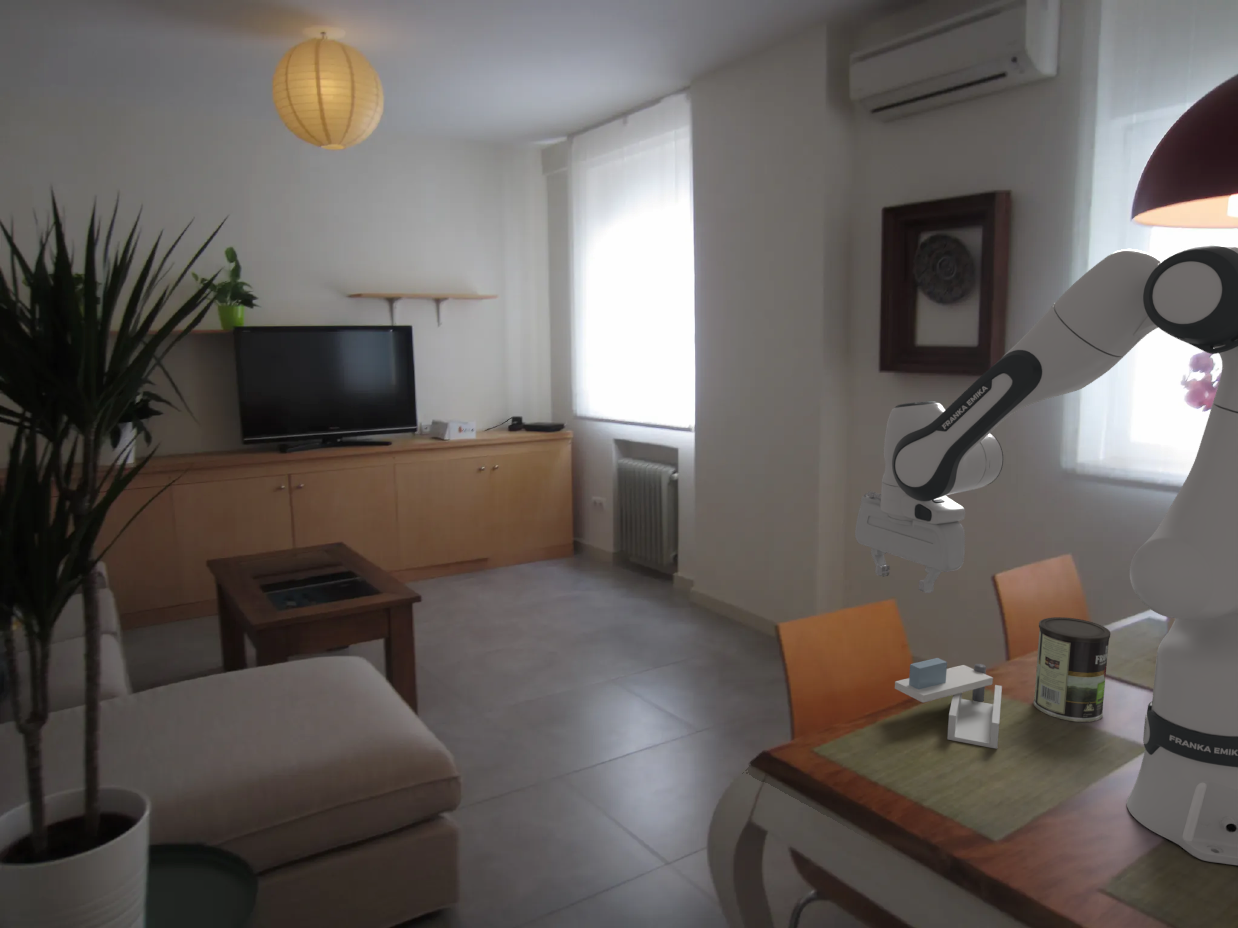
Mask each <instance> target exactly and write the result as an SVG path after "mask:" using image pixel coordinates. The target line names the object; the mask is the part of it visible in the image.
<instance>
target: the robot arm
mask: <svg viewBox="0 0 1238 928" xmlns="http://www.w3.org/2000/svg"><path fill="white" fill-rule="evenodd" d="M1156 329H1160V330H1161V331H1163V332H1164V333H1165V334H1167V335H1170V336H1171V337H1173V338H1175V339H1177V340H1179V341H1182V342H1184V343H1187V344H1188V345H1191V346H1193V347H1194V348H1197V349H1199V350H1200V351H1203V352H1205V353H1207V354H1211V355H1215V354H1216V355H1217V354H1218V355H1219V356H1220V358H1221V359H1220V360H1221V366H1222V367H1221V373H1220V377H1219V383H1218V385H1217V389H1216V391H1215V392H1216V393H1215V395H1214V399H1213V402H1212V405H1211V408H1210V411H1209V414H1208V418H1207V422H1206V425H1205V427H1204V431H1203V435H1202V437H1201V441H1200V443H1199V447H1198V451H1197V453H1196V456H1195V459H1194V461H1193V464H1192V466H1191V469H1190V471H1189V473H1188V475H1187V476H1186V478H1185V481H1184V482H1183V484H1182V485H1181V488H1180V489H1179V491H1178V493H1177V494H1176V496H1175V497H1174V500H1173V501H1172V503H1171V505H1170V507H1169V508H1168V510H1167V511H1166V513H1165V515H1164V517H1163V518H1162V520H1161V522H1160V523H1159V525H1158V526H1157V528H1156V530H1154V532H1153V533H1152V535H1150V537H1149V538H1148V539H1147V540H1146V541H1145V542H1144V543H1143V544H1142V545H1141V546H1139V547H1138V549H1137V550H1136V551H1135V552H1134V555H1133V556H1132V558H1131V561H1130V564H1129V579H1130V584H1131V586H1132V589H1133V591H1134V593H1135V594H1136V596H1137V598H1138V599H1139V600H1140V601H1141V602H1142V604H1143V605H1145V606H1146V607H1147V608H1148V609H1149V610H1151V611H1153V612H1154V613H1156V614H1158V615H1160V616H1163V617H1166V618H1171V619H1174V621H1173V623H1172V625H1171V627H1170V629H1169V631H1168V632H1167V633H1166V635H1165V636H1164V637H1163V638H1162V640H1161V642H1160V643H1159V646H1158V647H1157V652H1156V661H1155V670H1154V681H1153V690H1152V700H1151V701H1150V702H1149V703H1148V705H1147V708H1146V709H1147V711H1146V714H1145V718H1144V726H1143V735H1142V736H1143V737H1142V741H1143V746H1144V751H1143V752H1144V753H1143V756H1142V760H1141V765H1140V769H1139V771H1138V774H1137V777H1136V780H1135V784H1134V785H1133V788H1132V790H1131V792H1130V794H1129V796H1128V797H1127V800H1126V806H1127V810H1128V811H1129V813H1130V814H1131V815H1132V817H1134V819H1135V820H1136V821H1137V822H1138V823H1140V824H1141V825H1142V826H1144V827H1145V828H1147V829H1149V830H1150V831H1151V832H1154V833H1155V834H1157V835H1159V836H1161V837H1162V838H1165V839H1167V840H1169V841H1171V842H1173V843H1174V844H1176V845H1178V846H1180V847H1181V848H1183V850H1185V852H1187V853H1189V854H1190V855H1191V856H1193V857H1195V858H1197V859H1199V860H1201V861H1204V862H1210V863H1218V864H1224V865H1225V864H1226V865H1232V866H1238V244H1230V243H1229V244H1227V243H1226V244H1224V243H1223V244H1212V243H1211V244H1197V245H1192V246H1189V247H1185V248H1183V249H1180V250H1178V251H1176V252H1175V253H1172V254H1171V255H1169V256H1167V257H1166V258H1164V259H1163V260H1161V259H1159V258H1158V257H1157V256H1155V255H1154V254H1151V253H1149V252H1146V251H1142V250H1139V249H1132V248H1127V249H1125V248H1124V249H1121V250H1119V249H1118V250H1116V251H1114V252H1112V253H1110V254H1108V255H1107V256H1106V257H1104V258H1103V259H1102V260H1100V261H1099V262H1098V263H1096V264H1095V265H1094V266H1092V267H1091V268H1090V269H1089V270H1088V271H1087V272H1085V273H1084V274H1083V275H1082V276H1081V277H1079V279H1078V280H1076V281H1075V282H1074V283H1073V284H1072V285H1071V286H1070V287H1069V288H1067V290H1066V291H1065V292H1064V293H1063V294H1062V295H1061V296H1060V297H1059V298H1058V299H1057V300H1056V301H1055V302H1054V303H1053V304H1052V306H1050V307H1049V308H1048V310H1047V311H1046V312H1045V313H1044V314H1043V315H1042V316H1041V317H1040V318H1039V320H1037V321H1036V322H1035V324H1033V326H1032V327H1031V328H1030V329H1029V330H1028V331H1027V332H1026V333H1025V335H1023V336H1022V337H1021V339H1019V340H1018V341H1017V343H1015V344H1014V345H1013V346H1012V347H1011V348H1010V349H1009V350H1008V351H1007V352H1006V353H1005V354H1004V355H1002V356H1001V358H999V360H998V361H997V362H995V364H993V365H992V366H991V367H990V368H988V369H987V370H986V371H985V372H983V374H981V375H980V377H978V378H977V380H976V381H974V382H973V383H972V384H971V385H969V387H968V388H967V389H965V391H964V392H963V393H961V395H959V397H958V398H956V400H954V402H952V403H951V404H950V405H949V406H948V407H947V408H945V407H944V406H943V404H941V403H940V402H938V401H934V400H933V401H932V400H929V401H927V400H926V401H919V402H918V401H917V402H907V403H906V402H905V403H901V404H897V405H896V406H895V407H893V408H892V409H891V410H890V413H889V415H888V418H887V422H886V428H885V435H884V444H883V459H884V465H885V466H884V467H885V468H884V472H883V475H882V478H881V491H880V493H878V492H876V491H871V490H870V491H868V492H866V493H865V494H863V495H862V497H861V498H860V499H861V500H860V507H859V510H858V513H857V518H856V523H855V532H854V538H855V539H856V542H857V543H858V544H859V545H862V546H865V547H868V548H871V549H870V554H871V558H872V560H873V563H874V564H875V570H874V571H875V572H874V573H875V574H876V575H877V576H879V577H882V578H883V577H888V576H890V570H891V567H890V565H889V564H887V561H886V558H885V554H889V555H892V556H896V557H898V558H902V559H904V560H907V561H910V562H913V563H916V564H919V565H923V566H924V567H925V569H924V572H925V573H926V575H925V577H924V579H920V580H918V581H919V582H918V590H919V591H920V592H923V593H925V594H930V593H933V592H934V589H935V582H936V581H937V579H938V578H939V577H940V575H941V574H942V573H947V572H953V571H957V570H959V569H960V568H961V567H962V566H963V564H964V562H965V561H964V560H965V554H966V553H965V551H966V547H965V546H966V533H965V532H966V531H965V528H964V526H963V525H962V523H961V522H960V521H964V519H965V517H966V509H965V508H964V507H963V505H961V504H960V503H957V502H956V501H954V500H953V499H952V498H950V497H949V496H948V495H953V494H957V493H963V492H967V491H973V490H977V489H981V488H984V487H987V486H989V485H990V484H992V483H993V482H995V481H996V480H997V478H998V477H999V476H1000V475H1001V472H1002V470H1003V467H1004V466H1003V465H1004V454H1003V453H1004V452H1003V449H1002V446H1001V444H1000V442H999V440H998V439H997V437H996V436H994V435H993V433H992V432H993V431H994V430H995V429H996V428H997V427H998V426H999V425H1000V424H1002V423H1003V422H1004V421H1005V420H1006V419H1007V418H1009V417H1010V416H1011V415H1014V414H1015V413H1016V412H1018V411H1020V410H1022V409H1024V408H1027V407H1028V406H1031V405H1034V404H1036V403H1039V402H1041V401H1045V400H1048V399H1051V398H1055V397H1059V396H1063V395H1066V394H1070V393H1073V392H1076V391H1079V390H1082V389H1083V388H1086V387H1087V386H1089V385H1090V384H1092V383H1093V382H1095V381H1096V380H1098V379H1099V378H1101V377H1102V376H1103V375H1105V374H1106V373H1107V372H1108V371H1110V370H1111V369H1112V368H1114V366H1116V364H1118V362H1120V361H1121V360H1122V359H1123V358H1124V357H1125V356H1126V355H1127V354H1128V353H1129V352H1130V351H1131V350H1132V349H1133V348H1134V347H1135V346H1136V345H1137V344H1138V343H1139V342H1140V341H1142V340H1143V339H1144V338H1145V337H1146V336H1147V335H1149V334H1150V333H1152V332H1153V331H1155V330H1156Z"/></svg>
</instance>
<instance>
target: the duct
mask: <svg viewBox="0 0 1238 928" xmlns="http://www.w3.org/2000/svg"><path fill="white" fill-rule="evenodd" d="M1002 689H1003V685H997V684H995V685H994V697H993V703H988V702H984V701H983V702H977V701H974V700H972V699H970V700H969V699H964V698H963V697H962V696H963V692H962V693H958V694H954V695H952V698H951V702H950V703H951V704H950V708H949V713H948V723H947V724H948V725H947V740H950V741H953V742H959V743H964V744H970V745H975V746H981V747H986V748H991V749H994V750H995V749H997V750H998V747H999V746H998V745H999V744H998V743H999V731H1000V730H999V729H1000V717H1001V705H1002V704H1001V703H1002V702H1001V701H1002V693H1003V692H1002Z"/></svg>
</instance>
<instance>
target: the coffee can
mask: <svg viewBox="0 0 1238 928" xmlns="http://www.w3.org/2000/svg"><path fill="white" fill-rule="evenodd" d="M1038 628H1039V632H1038V643H1037V644H1038V645H1037V657H1036V658H1037V659H1036V672H1035V684H1034V685H1035V687H1034V697H1033V706H1034V707H1035V708H1036V709H1037V710H1039V711H1040V712H1042V713H1043V714H1046V715H1048V716H1050V717H1053V718H1055V719H1060V720H1065V721H1070V722H1074V723H1092V722H1095V721H1099V720H1101V718H1103V716H1104V714H1103V709H1104V698H1105V687H1106V676H1107V664H1108V656H1109V655H1108V654H1109V653H1108V651H1109V643H1110V638H1111V631H1110V629H1108V628H1107V627H1105V626H1103V625H1101V624H1099V623H1096V622H1093V621H1091V620H1084V619H1080V618H1074V617H1073V618H1072V617H1047V618H1043V619H1041V620H1040V621H1039V622H1038Z"/></svg>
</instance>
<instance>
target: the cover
mask: <svg viewBox="0 0 1238 928" xmlns="http://www.w3.org/2000/svg"><path fill="white" fill-rule="evenodd" d="M973 666H974V667H970V666H968V665H965V664H962V665H958V666H952V667H949V668H948V662H947V661H946V660H945V659H941V658H939V657H935V658H932V659H927V660H923V661H919V662H918V661H917V662H913V663H911V664H910V665H909V677H908V678H904V679H900V680H896V681H894V689H895V690H897V691H899V692H901V693H903V694H905V695H907V696H909V697H911V698H912V699H915V700H917V701H918V702H921V703H927V702H931V701H934V700H938V699H939V700H940V699H942V698H946V697H950V696H953V695H954V694H958V693H962V694H963V693H965V692H968V691H972V694H971V695H972V697H971V701H977V702H983V703H984V701H985V691H986V690H985V689H986V687H988V686H991V685H993V683H994V680H993V679H994V677H992V676H990V675H988V674H987V673H986V671H987V666H986V665H985V664H983V663H975V664H974V665H973Z"/></svg>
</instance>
